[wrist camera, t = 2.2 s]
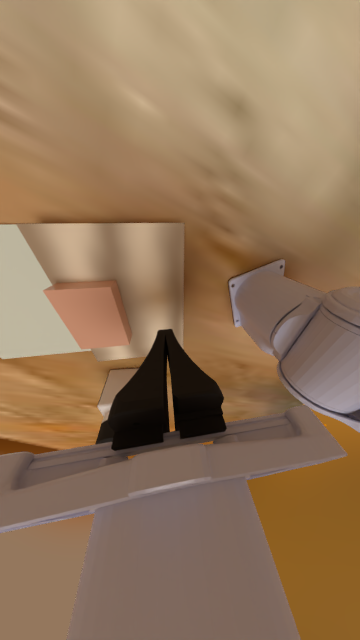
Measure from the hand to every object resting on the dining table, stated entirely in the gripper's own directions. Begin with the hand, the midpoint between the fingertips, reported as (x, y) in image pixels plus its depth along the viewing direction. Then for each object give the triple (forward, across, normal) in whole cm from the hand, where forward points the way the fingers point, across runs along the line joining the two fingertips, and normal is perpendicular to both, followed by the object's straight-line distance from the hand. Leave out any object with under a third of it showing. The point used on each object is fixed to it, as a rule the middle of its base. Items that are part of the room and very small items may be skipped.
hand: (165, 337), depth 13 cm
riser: (+8, +4, 0) cm, 10 cm away
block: (+6, +8, 0) cm, 10 cm away
